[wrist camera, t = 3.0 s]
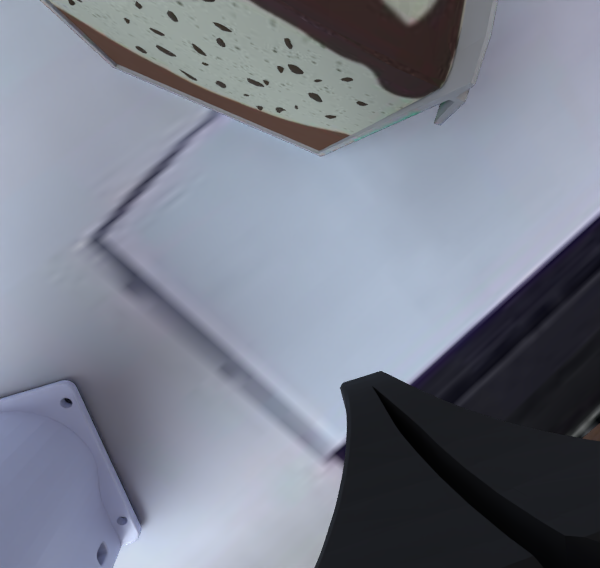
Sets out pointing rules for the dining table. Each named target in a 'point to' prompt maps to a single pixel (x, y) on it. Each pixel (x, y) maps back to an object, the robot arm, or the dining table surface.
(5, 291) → the dining table surface
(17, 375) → the dining table surface
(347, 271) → the dining table surface
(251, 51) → the food container
